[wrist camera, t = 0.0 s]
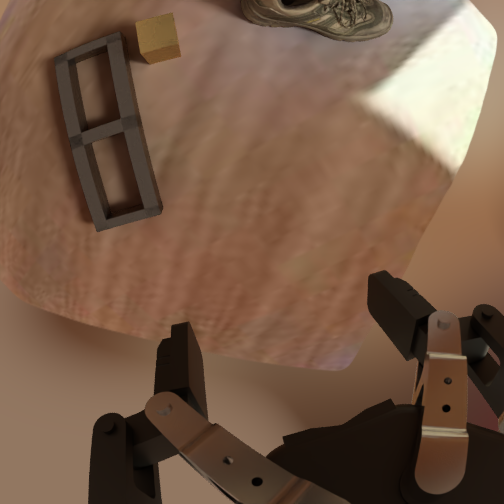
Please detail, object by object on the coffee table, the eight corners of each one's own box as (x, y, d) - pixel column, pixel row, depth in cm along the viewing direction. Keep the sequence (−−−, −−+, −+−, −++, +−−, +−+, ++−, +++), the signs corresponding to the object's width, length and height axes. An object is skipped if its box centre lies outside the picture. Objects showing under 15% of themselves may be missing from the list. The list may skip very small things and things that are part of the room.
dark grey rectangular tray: (63, 61, 28) (54, 58, 25) (125, 36, 28) (119, 31, 26) (103, 224, 38) (97, 232, 36) (163, 207, 39) (160, 214, 36)
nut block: (145, 37, 29) (135, 22, 23) (176, 29, 29) (172, 12, 23) (149, 64, 31) (140, 53, 25) (181, 56, 31) (178, 43, 25)
